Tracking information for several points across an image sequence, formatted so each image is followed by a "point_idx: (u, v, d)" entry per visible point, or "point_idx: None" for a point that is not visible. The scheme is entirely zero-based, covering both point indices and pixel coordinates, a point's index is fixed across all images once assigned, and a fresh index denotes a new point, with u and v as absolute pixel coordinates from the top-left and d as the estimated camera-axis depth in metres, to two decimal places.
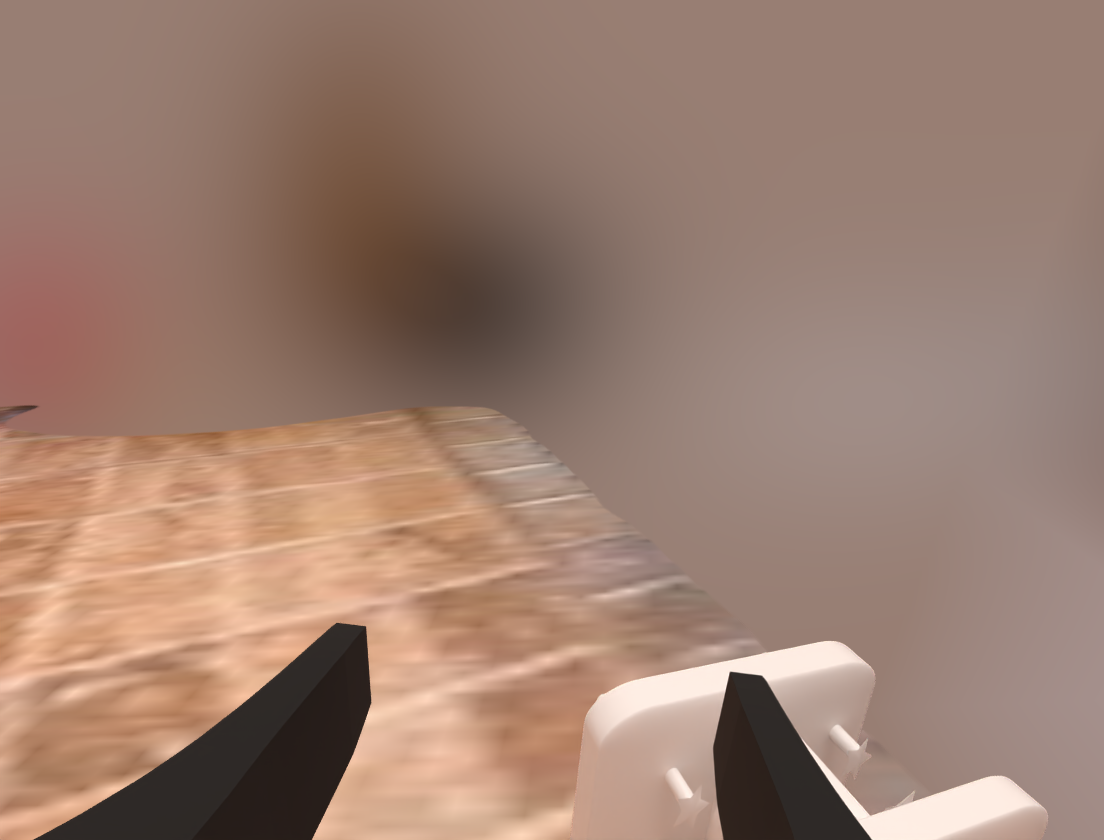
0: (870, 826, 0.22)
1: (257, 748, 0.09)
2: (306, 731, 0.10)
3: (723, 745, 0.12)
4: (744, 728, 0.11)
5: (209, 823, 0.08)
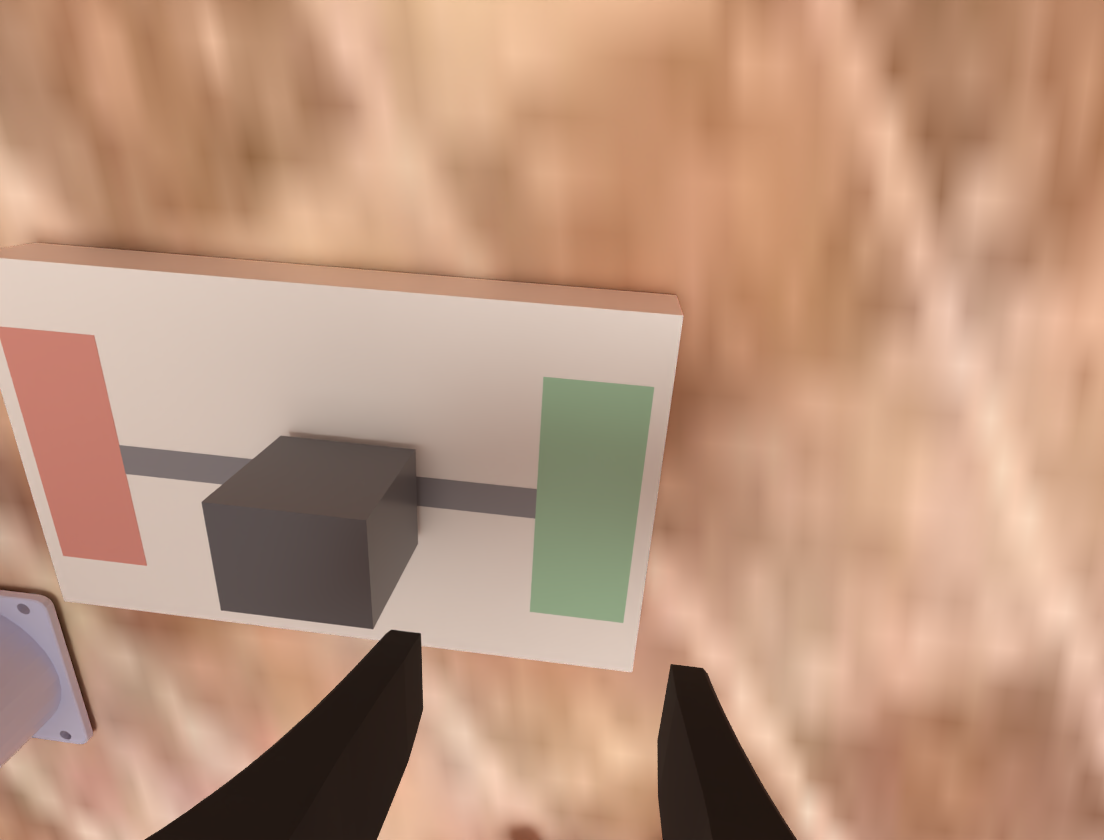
0: None
1: (330, 758, 0.09)
2: (371, 740, 0.10)
3: (664, 737, 0.12)
4: (678, 719, 0.11)
5: (293, 836, 0.08)
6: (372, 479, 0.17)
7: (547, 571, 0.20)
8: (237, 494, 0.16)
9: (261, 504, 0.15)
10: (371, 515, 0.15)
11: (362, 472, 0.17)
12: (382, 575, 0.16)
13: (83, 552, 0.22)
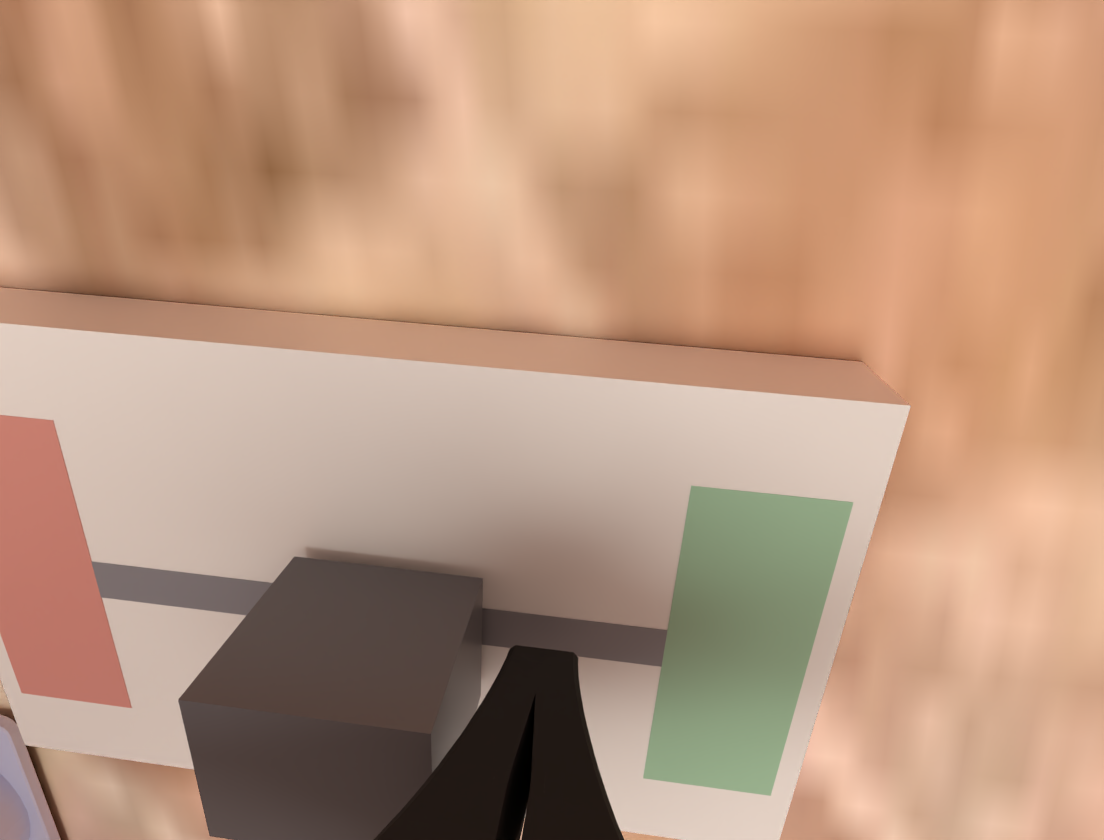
0: None
1: (499, 782, 0.09)
2: (521, 760, 0.10)
3: None
4: (535, 701, 0.11)
5: None
6: (429, 641, 0.11)
7: (671, 730, 0.15)
8: (233, 680, 0.10)
9: (270, 702, 0.10)
10: (436, 719, 0.10)
11: (414, 627, 0.12)
12: None
13: (48, 689, 0.16)
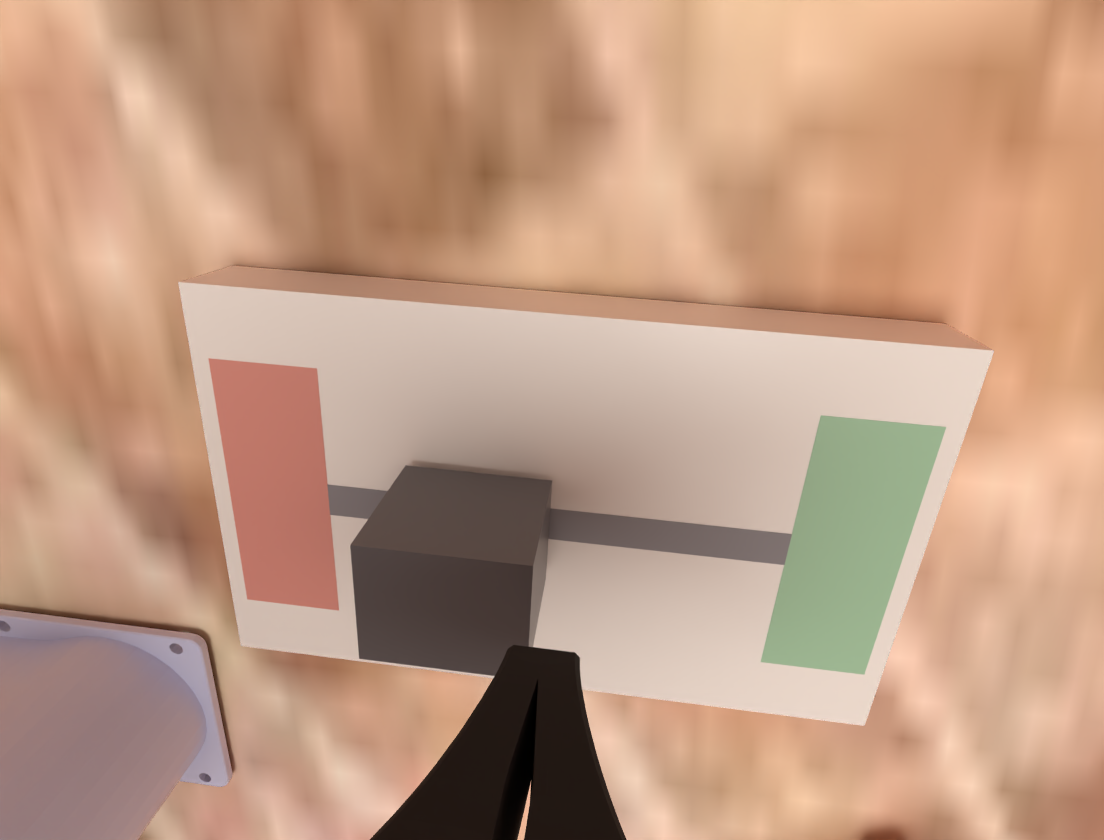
0: None
1: (496, 782, 0.09)
2: (519, 760, 0.10)
3: None
4: None
5: None
6: (520, 516, 0.15)
7: (786, 620, 0.19)
8: (385, 535, 0.14)
9: (415, 547, 0.14)
10: (535, 559, 0.14)
11: (507, 508, 0.16)
12: (533, 620, 0.15)
13: (270, 596, 0.20)
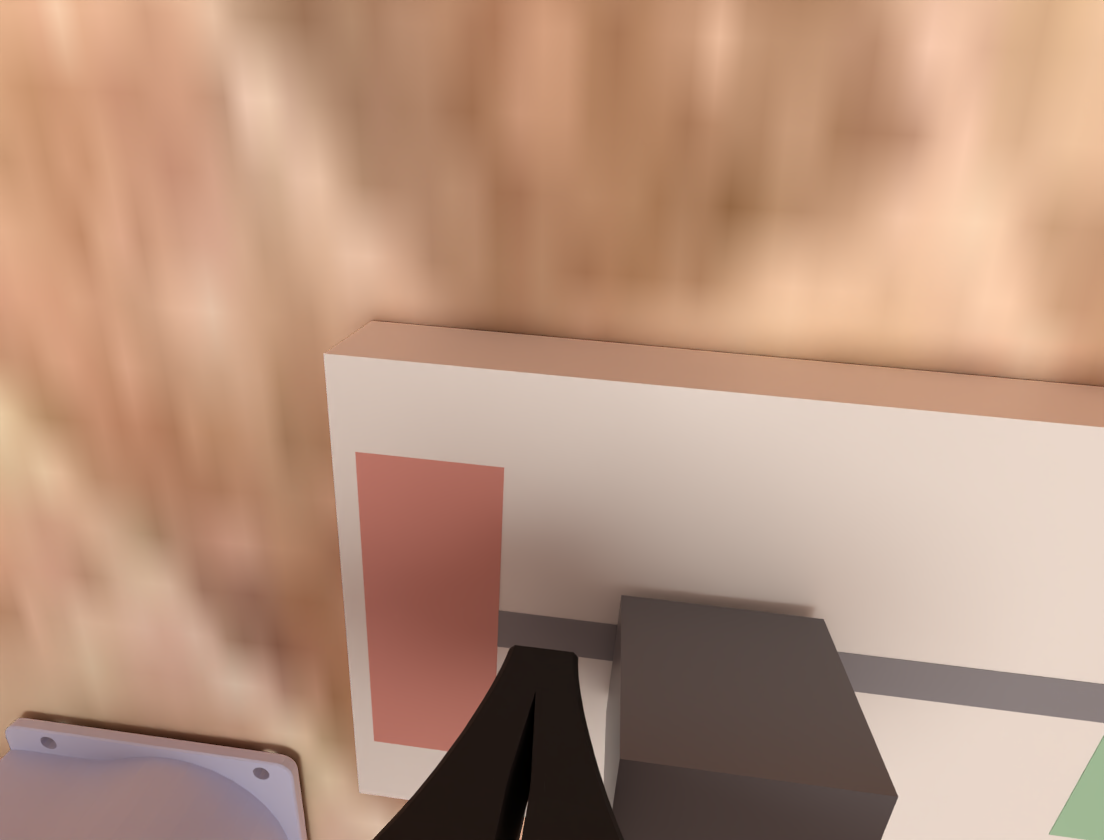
0: None
1: (499, 782, 0.09)
2: (521, 761, 0.10)
3: None
4: (535, 701, 0.11)
5: None
6: (820, 690, 0.11)
7: (1094, 787, 0.14)
8: (659, 736, 0.10)
9: (713, 761, 0.10)
10: (890, 779, 0.10)
11: (796, 675, 0.11)
12: None
13: (404, 738, 0.16)
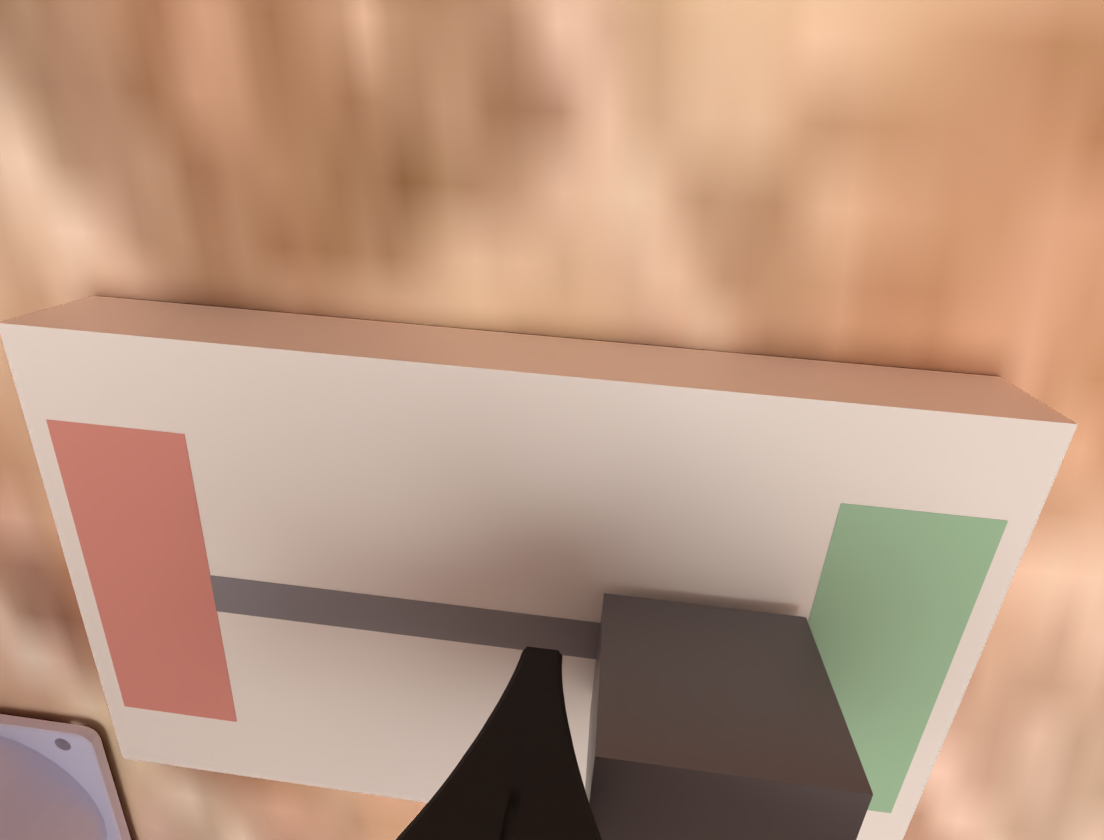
0: None
1: (517, 785, 0.09)
2: None
3: None
4: None
5: None
6: (800, 688, 0.11)
7: None
8: (635, 734, 0.10)
9: (688, 759, 0.10)
10: (865, 777, 0.10)
11: (776, 673, 0.11)
12: None
13: (152, 703, 0.16)
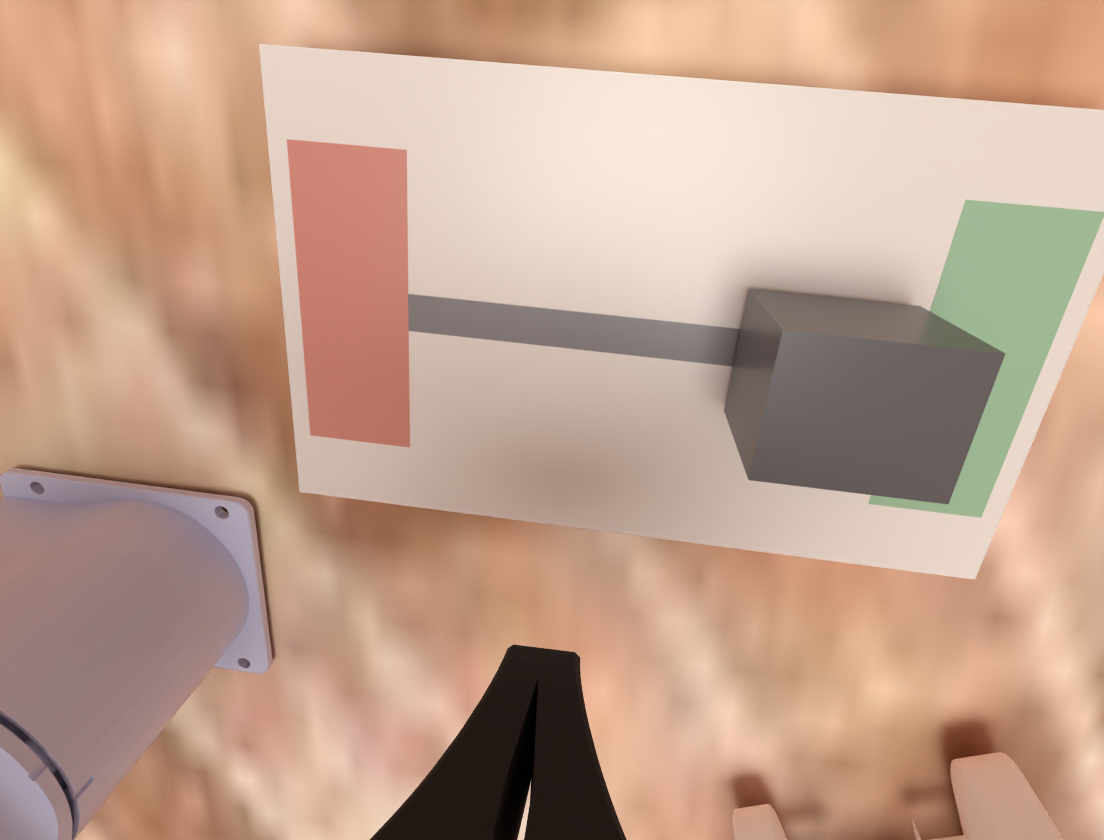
0: None
1: (497, 782, 0.09)
2: (519, 760, 0.10)
3: None
4: None
5: None
6: (929, 324, 0.13)
7: None
8: (809, 326, 0.12)
9: (856, 335, 0.12)
10: (996, 350, 0.12)
11: (906, 318, 0.14)
12: None
13: (335, 431, 0.19)
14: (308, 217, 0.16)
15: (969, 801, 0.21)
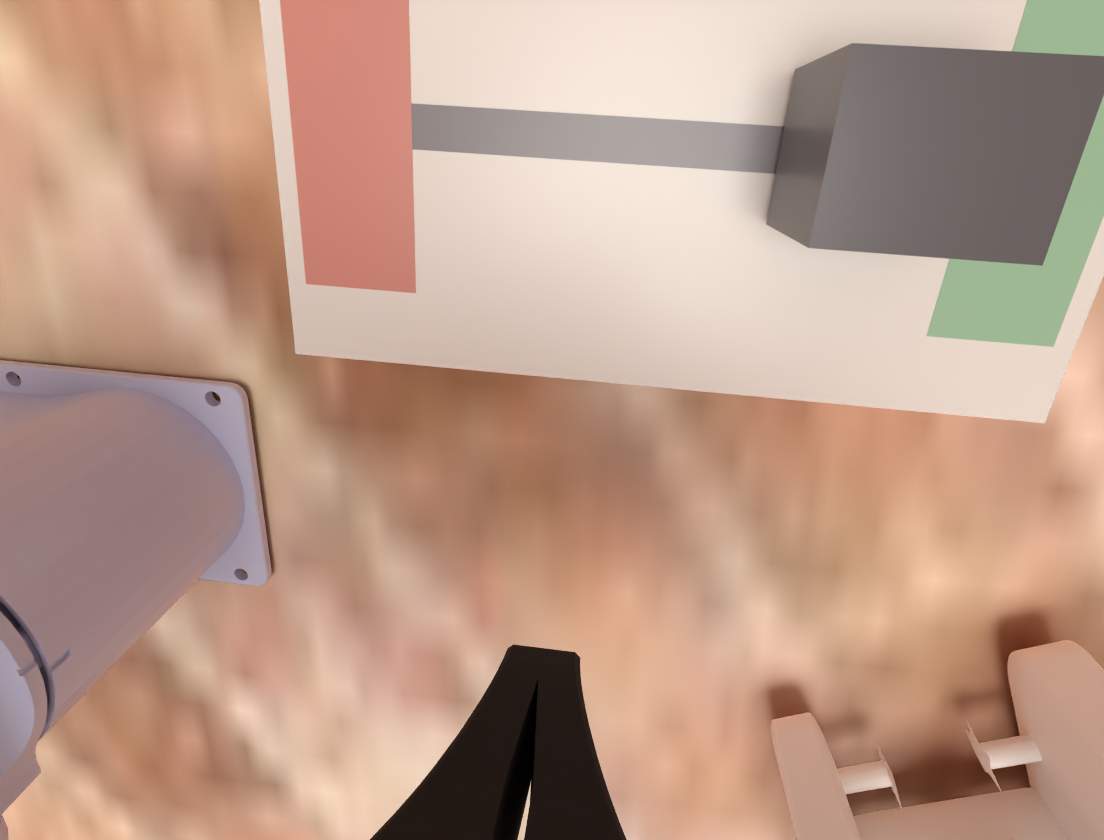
0: None
1: (496, 782, 0.09)
2: (518, 760, 0.10)
3: None
4: None
5: None
6: None
7: (964, 274, 0.15)
8: None
9: (938, 49, 0.10)
10: (1103, 62, 0.10)
11: None
12: None
13: (334, 277, 0.17)
14: (298, 13, 0.15)
15: (1034, 689, 0.20)
